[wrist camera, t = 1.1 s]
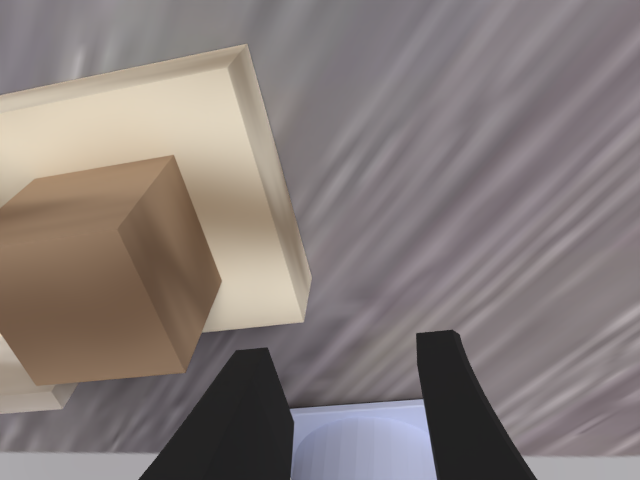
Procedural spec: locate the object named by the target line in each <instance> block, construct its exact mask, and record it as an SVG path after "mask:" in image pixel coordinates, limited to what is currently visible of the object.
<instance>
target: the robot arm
mask: <svg viewBox="0 0 640 480" xmlns="http://www.w3.org/2000/svg"><path fill="white" fill-rule="evenodd" d="M416 340H417V366H418V372H419V378H420V383H421V389H422V395H423V399H418V400H404V401H391V402H377V403H363V404H349V405H335V406H322V407H308V408H294V409H289V406H288V403H287V401H286V398H285V395H284V392H283V389H282V386H281V384H280V381H279V378H278V375H277V372H276V370H275V367H274V364H273V361H272V358H271V356H270V353H269V350H268V348H257V349H247V350H236V351H235V353H234V354H233V355H232V357H231V358H230V359H229V361H228V362H227V363H226V365H225V366H224V367H223V369H222V370H221V371H220V373H219V374H218V376H217V377H216V378H215V380H214V381H213V383H212V384H211V385H210V387H209V388H208V389H207V391H206V392H205V394H204V395H203V396H202V398H201V399H200V401H199V402H198V403H197V405H196V406H195V407H194V409H193V410H192V412H191V413H190V414H189V416H188V417H187V418H186V420H185V421H184V422H183V424H182V425H181V426H180V427H179V429H178V430H177V431H176V433H175V434H174V435H173V437H172V438H171V439H170V441H169V442H168V443H167V445H166V446H165V447H164V449H163V450H162V451H161V452H160V454H159V455H158V456H157V458H156V459H155V460H154V461H153V463H152V464H151V465H150V466H149V467H148V469H147V470H146V471H145V472H144V474H143V475H142V476H141V477H140V478H139V480H290V477H291V479H292V480H537V479H536V477H535V476H534V474H533V473H532V471H531V470H530V468H529V467H528V465H527V464H526V462H525V461H524V459H523V458H522V456H521V455H520V453H519V451H518V450H517V448H516V447H515V445H514V444H513V442H512V440H511V439H510V437H509V435H508V434H507V432H506V430H505V429H504V427H503V425H502V424H501V422H500V420H499V419H498V417H497V415H496V413H495V412H494V410H493V408H492V407H491V405H490V403H489V401H488V399H487V398H486V396H485V394H484V392H483V390H482V388H481V386H480V384H479V382H478V380H477V378H476V376H475V374H474V372H473V370H472V367H471V365H470V363H469V361H468V358H467V356H466V353H465V351H464V348H463V345H462V342H461V338H460V335H459V334H458V333H456V332H455V331H453V330H446V331H435V332H425V333H416Z"/></svg>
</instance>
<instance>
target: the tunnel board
mask: <svg viewBox="0 0 640 480" xmlns="http://www.w3.org/2000/svg"><path fill="white" fill-rule="evenodd" d="M170 155H174V156H175V159H176V162H177V164H178V167H179V169H180V172H181V175H182V177H183V180H184V183H185V185H186V188H187V190H188V193H189V196H190V198H191V201H192V204H193V206H194V209H195V211H196V214H197V217H198V219H199V222H200V224H201V227H202V230H203V232H204V235H205V238H206V240H207V243H208V245H209V248H210V251H211V253H212V256H213V258H214V261H215V264H216V266H217V269H218V272H219V274H220V277H221V279H222V283H221V286H220V288H219V290H218V293H217V295H216V298H215V300H214V303H213V305H212V308H211V310H210V313H209V315H208V318H207V320H206V323H205V325H204V328H203V330H202V333H204V332H213V331H223V330H233V329H242V328H252V327H262V326H271V325H281V324H291V323H300V322H304V318H305V313H306V307H307V302H308V296H309V290H310V285H311V279H312V276H311V273H310V269H309V266H308V262H307V258H306V255H305V251H304V247H303V244H302V240H301V237H300V233H299V229H298V226H297V222H296V218H295V215H294V211H293V208H292V204H291V200H290V197H289V193H288V190H287V186H286V182H285V179H284V175H283V171H282V168H281V164H280V161H279V157H278V153H277V150H276V146H275V143H274V139H273V135H272V132H271V128H270V124H269V121H268V117H267V114H266V110H265V106H264V103H263V99H262V95H261V92H260V88H259V85H258V81H257V77H256V74H255V70H254V67H253V63H252V59H251V56H250V52H249V48H248V45H247V44H244V45H239V46H234V47H229V48H224V49H220V50H215V51H210V52H205V53H200V54H196V55H191V56H186V57H181V58H176V59H172V60H167V61H162V62H157V63H152V64H148V65H143V66H138V67H133V68H128V69H124V70H119V71H114V72H109V73H104V74H100V75H95V76H90V77H85V78H80V79H76V80H71V81H66V82H61V83H56V84H52V85H47V86H42V87H37V88H32V89H28V90H23V91H18V92H13V93H8V94H4V95H0V208H1V207H2V206H3V205H5V204H6V203H7V202H8V201H9V200H10V199H12V198H13V197H14V196H15V195H16V194H17V193H19V192H20V191H21V190H22V189H23V188H24V187H26V186H27V185H28V184H29V183H30V182H31V181H33V180H34V179H36V178H42V177H48V176H53V175H59V174H65V173H71V172H77V171H83V170H88V169H94V168H100V167H106V166H112V165H117V164H123V163H129V162H135V161H141V160H146V159H152V158H158V157H164V156H170ZM78 383H79V382H76V383H65V384H53V385H42V386H36V385H35V383H34V382H33V380H32V379H31V378H30V376H29V375H28V373H27V372H26V370H25V369H24V367H23V366H22V364H21V363H20V361H19V360H18V358H17V357H16V356H15V354H14V353H13V351H12V350H11V348H10V347H9V345H8V344H7V342H6V341H5V339H4V338H3V337H2V335H1V334H0V414H5V413H18V412H31V411H43V410H56V409H63V408H64V406H65V405H66V403H67V401H68V400H69V398H70V397H71V395H72V393H73V392H74V390H75V388H76V387H77V385H78Z"/></svg>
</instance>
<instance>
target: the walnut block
mask: <svg viewBox="0 0 640 480" xmlns="http://www.w3.org/2000/svg"><path fill="white" fill-rule="evenodd" d="M221 283H222V279H221V277H220V274H219V272H218V269H217V266H216V264H215V261H214V258H213V256H212V253H211V251H210V248H209V245H208V243H207V240H206V238H205V235H204V232H203V230H202V227H201V224H200V222H199V219H198V217H197V214H196V211H195V209H194V206H193V204H192V201H191V198H190V196H189V193H188V190H187V188H186V185H185V183H184V180H183V177H182V175H181V172H180V169H179V167H178V164H177V162H176V159H175V156H174V155H170V156H164V157H158V158H152V159H146V160H141V161H135V162H129V163H123V164H117V165H112V166H106V167H100V168H94V169H88V170H83V171H77V172H71V173H65V174H59V175H53V176H48V177H42V178H36V179H34V180H33V181H31V182H30V183H29V184H28V185H27V186H26V187H24V188H23V189H22V190H21V191H20V192H19V193H17V194H16V195H15V196H14V197H13V198H12V199H10V200H9V201H8V202H7V203H6V204H5V205H3V206H2V207H1V208H0V334H1V335H2V337H3V338H4V339H5V341H6V342H7V344H8V345H9V347H10V348H11V350H12V351H13V353H14V354H15V356H16V357H17V358H18V360H19V361H20V363H21V364H22V366H23V367H24V369H25V370H26V372H27V373H28V375H29V376H30V378H31V379H32V380H33V382H34V383H35V385H36V386H42V385H53V384H65V383H76V382H87V381H98V380H110V379H121V378H132V377H143V376H155V375H166V374H177V373H186V370H187V368H188V365H189V363H190V360H191V358H192V355H193V353H194V350H195V348H196V345H197V343H198V340H199V338H200V335H201V333H202V330H203V328H204V325H205V323H206V320H207V318H208V315H209V313H210V310H211V308H212V305H213V303H214V300H215V298H216V295H217V293H218V290H219V288H220V286H221Z"/></svg>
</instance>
